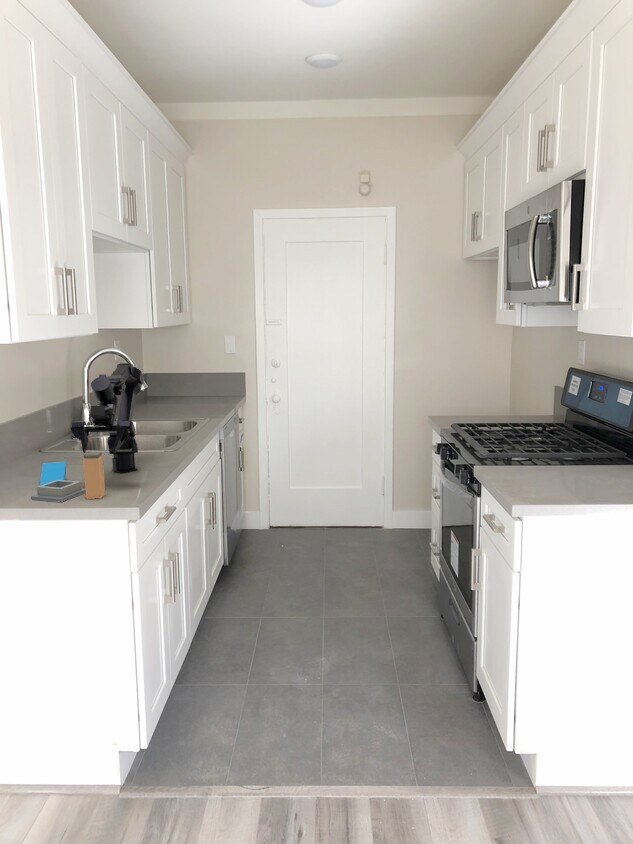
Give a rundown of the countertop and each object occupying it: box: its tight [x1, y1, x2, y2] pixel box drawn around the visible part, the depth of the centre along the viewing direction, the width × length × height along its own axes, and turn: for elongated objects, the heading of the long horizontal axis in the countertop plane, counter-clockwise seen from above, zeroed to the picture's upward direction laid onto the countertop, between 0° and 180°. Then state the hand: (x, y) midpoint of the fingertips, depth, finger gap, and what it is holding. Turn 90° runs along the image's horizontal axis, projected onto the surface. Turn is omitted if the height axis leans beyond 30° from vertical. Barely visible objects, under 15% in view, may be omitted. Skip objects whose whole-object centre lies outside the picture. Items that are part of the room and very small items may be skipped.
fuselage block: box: [82, 451, 106, 500], centre depth 202 cm, size 4×4×13 cm
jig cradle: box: [30, 479, 86, 503], centre depth 204 cm, size 12×11×4 cm
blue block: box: [39, 461, 67, 486], centre depth 220 cm, size 7×7×18 cm
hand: (99, 452), depth 207 cm, fingers open, 9 cm apart
